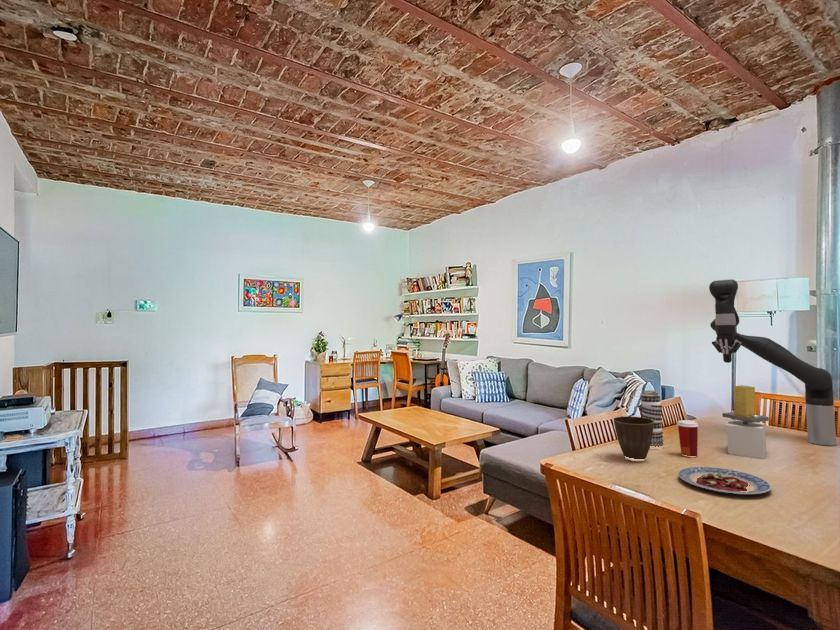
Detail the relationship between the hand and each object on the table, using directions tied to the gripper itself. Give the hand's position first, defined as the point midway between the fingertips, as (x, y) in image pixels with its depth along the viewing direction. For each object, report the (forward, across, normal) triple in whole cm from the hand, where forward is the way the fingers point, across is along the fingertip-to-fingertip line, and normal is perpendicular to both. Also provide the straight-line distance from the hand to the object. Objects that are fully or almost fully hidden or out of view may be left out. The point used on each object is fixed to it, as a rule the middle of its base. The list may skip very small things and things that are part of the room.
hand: (727, 362), depth 193 cm
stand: (+37, +10, -6) cm, 39 cm away
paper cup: (+37, +4, -30) cm, 48 cm away
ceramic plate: (+38, +33, -49) cm, 70 cm away
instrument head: (+22, +10, -6) cm, 25 cm away
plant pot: (+37, 0, -54) cm, 65 cm away
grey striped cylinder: (+37, -12, -33) cm, 51 cm away
